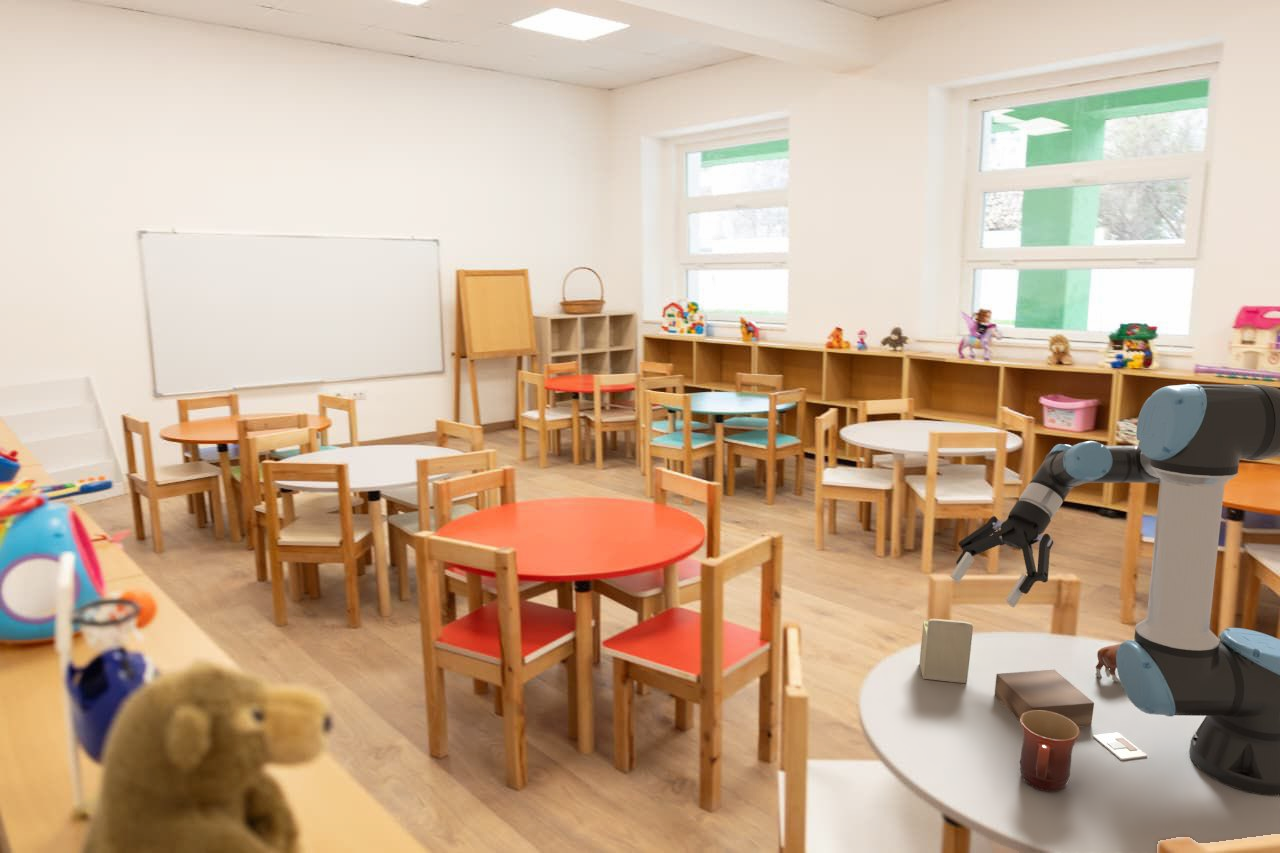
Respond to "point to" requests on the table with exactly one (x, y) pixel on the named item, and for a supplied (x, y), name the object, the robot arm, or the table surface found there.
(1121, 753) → the card
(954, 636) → the toy sink
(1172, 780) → the table surface
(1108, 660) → the bull figurine
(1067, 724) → the mug
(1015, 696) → the walnut block
